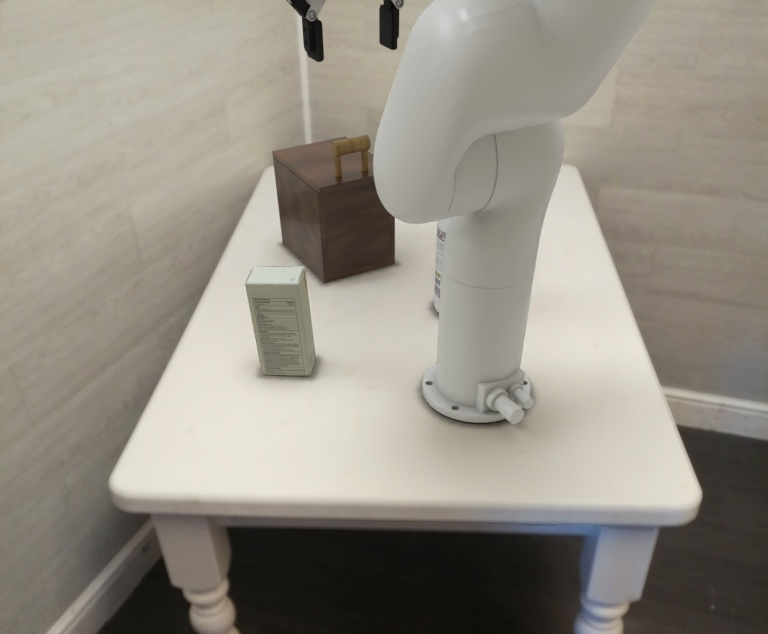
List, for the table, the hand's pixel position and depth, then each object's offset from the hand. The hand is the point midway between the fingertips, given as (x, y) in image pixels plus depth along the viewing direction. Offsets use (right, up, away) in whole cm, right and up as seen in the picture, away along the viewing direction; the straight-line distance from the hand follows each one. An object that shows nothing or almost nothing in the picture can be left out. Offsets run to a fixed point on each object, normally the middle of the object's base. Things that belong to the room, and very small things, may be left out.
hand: (352, 52), depth 85 cm
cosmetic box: (-8, -36, +5) cm, 37 cm away
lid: (-3, -6, +16) cm, 17 cm away
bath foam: (+14, -26, +14) cm, 33 cm away
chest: (-3, -14, +26) cm, 30 cm away
